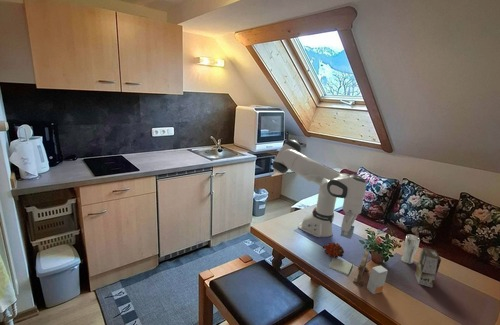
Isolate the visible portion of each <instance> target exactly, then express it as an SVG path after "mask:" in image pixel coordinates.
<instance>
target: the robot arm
mask: <svg viewBox="0 0 500 325" xmlns="http://www.w3.org/2000/svg"><path fill="white" fill-rule="evenodd" d="M301 149H302V147H301V145H300V143H299V142H298V141H296V140H295V139H287V140H286V141H285V142H284V144H283V145H282V146H281V148H280V149H279V151H278V153H277V155H276V157H275V158H274V160H273V162H272V165H271V166H272V168H273V170H274V171H275V172H276V173H279V174H286V173H287V172H288V171H289V170H290V171H292V172H293V173H295V174H297V175H298V176H299V177H301V178H303V179H304V180H306V181H307V182H310V183H314V184H317V185H318V186H319V189H318V196H317V202H316V206H315V207H314V208H313V210H312V213H310V214H308V215H305V217H304V218H303V219H302V220H301V221H300V222H299V223H298V225H297V228H298V229H299V230H301V231H304V232H306V233H307V234H310V235H312V236H314V237H315V238H321V237H323V238H325V237H326V238H327V237H331V236H332V235H333V221H334V217H335V213H334V211H335V206H336V201H337V198H338V199H343V203H342V211H344V213H345V214H344V215H343V219H342V222H341V227H340V230H341V231H342V230H343V231H344V235H348V232H349V230H350V228H351V226H353V225H354V223H355V220H356V219H357V217H358V215H360V214H362V209H363V204H364V201H363V200H364V198H365V195H366V189H367V188H366V187H367V182H366V180H365V178H364V177H362V176H361V175H358V174H349V173H346V172H345V173H342V172H340V171H337V170H335V169H332V168H331V167H329V166H327V165H325V164H323V163H320V162H318V161H316V160H314V159H312V158H310V157H308V156H306V155H305V154H303V153H302V152H301V151H302V150H301Z"/></svg>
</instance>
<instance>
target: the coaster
mask: <svg viewBox="0 0 500 325" xmlns="http://www.w3.org/2000/svg"><path fill="white" fill-rule="evenodd" d="M352 267H353V263H350V262H348V261H347V260H342V259H341V258H339V257H338V258H335V257H334V256H333V257H332V260H331V262H330V263H329V265H328V268H329V269H331V270H333V271H336V272H339V273H341V274H344V275H346V276H349V274H350V271H351V269H352Z"/></svg>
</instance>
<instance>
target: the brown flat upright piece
mask: <svg viewBox="0 0 500 325" xmlns="http://www.w3.org/2000/svg"><path fill="white" fill-rule="evenodd" d="M369 254H370V250H369V249H367V248H366V249H365V251H364V254H363V256H362V259H361V262H360V264H359V265H358V268H357V269H358V273H357V274H358V275H357V277H355V278H354V279H353V283H354V284H356V285H358V286H361V287H363V286H364V283H365V282H364V281H363V280H362V279H363V277H364V276H363V275H364V272H368V271H369V268H368V267H367V262H368V256H369Z"/></svg>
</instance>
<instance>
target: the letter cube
mask: <svg viewBox="0 0 500 325" xmlns="http://www.w3.org/2000/svg"><path fill="white" fill-rule="evenodd" d="M354 230H355V226H354V225H352V226H351V228H350V230H349V232H348V235H344V231H343V230H341V233H340V236H341V237H343V238H346V239H349V240H351V239H352V237H353V235H354Z"/></svg>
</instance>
